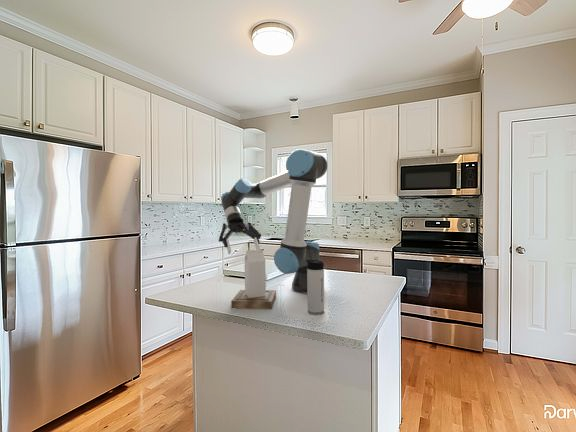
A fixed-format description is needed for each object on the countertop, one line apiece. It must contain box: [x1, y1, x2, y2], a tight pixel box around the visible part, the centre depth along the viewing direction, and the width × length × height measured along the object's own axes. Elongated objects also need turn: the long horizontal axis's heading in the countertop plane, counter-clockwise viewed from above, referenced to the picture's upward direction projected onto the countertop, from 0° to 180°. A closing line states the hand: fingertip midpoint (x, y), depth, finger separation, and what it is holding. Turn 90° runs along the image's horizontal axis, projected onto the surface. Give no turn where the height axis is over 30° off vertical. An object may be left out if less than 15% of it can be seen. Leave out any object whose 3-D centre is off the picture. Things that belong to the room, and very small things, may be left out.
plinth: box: [230, 289, 277, 310], centre depth 129 cm, size 16×16×3 cm
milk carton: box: [244, 249, 267, 298], centre depth 129 cm, size 7×7×19 cm
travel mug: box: [306, 260, 325, 316], centre depth 116 cm, size 6×7×20 cm
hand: (244, 251), depth 139 cm, fingers open, 13 cm apart
